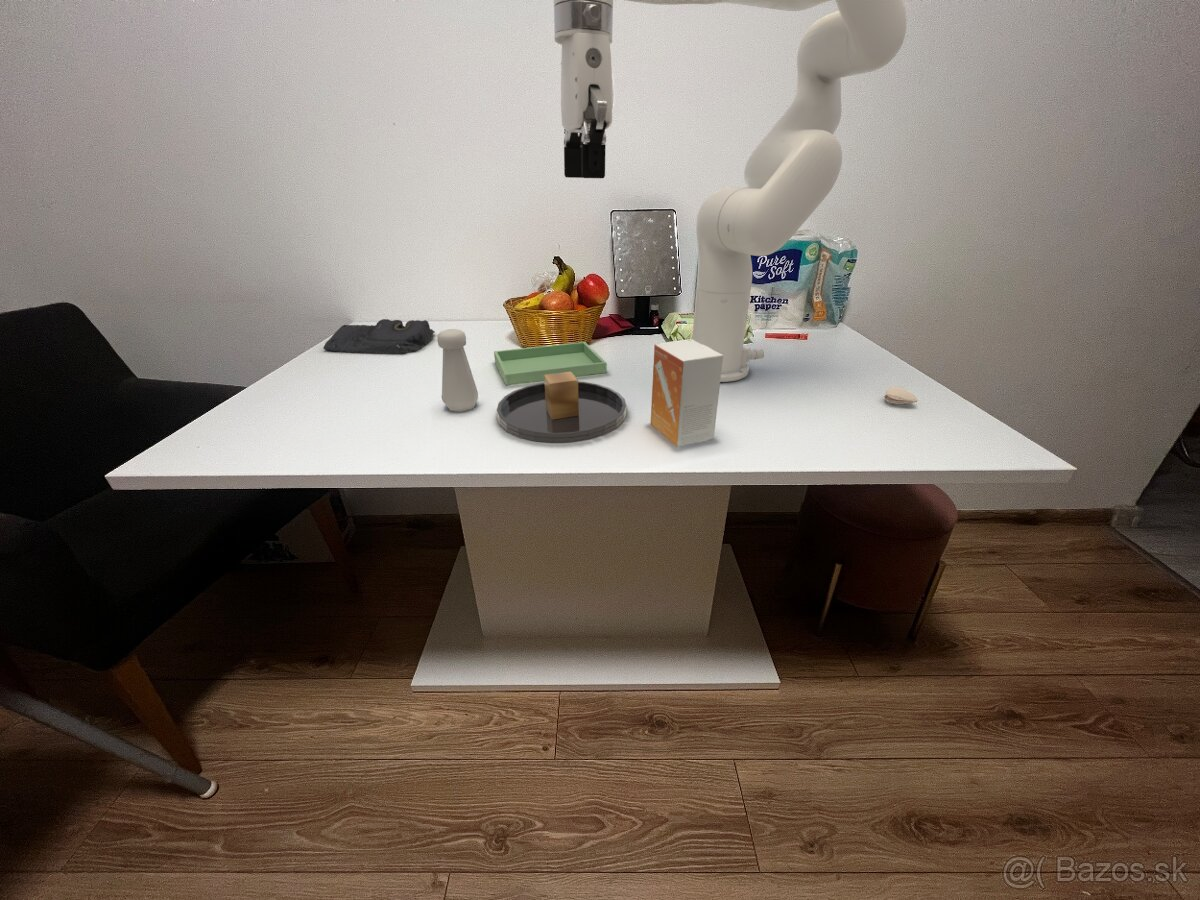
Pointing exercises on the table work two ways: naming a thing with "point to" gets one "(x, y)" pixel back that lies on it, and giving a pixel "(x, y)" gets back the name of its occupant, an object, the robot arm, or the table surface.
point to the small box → (685, 391)
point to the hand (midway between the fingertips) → (583, 177)
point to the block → (561, 395)
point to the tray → (548, 362)
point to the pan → (532, 421)
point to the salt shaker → (456, 372)
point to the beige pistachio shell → (899, 396)
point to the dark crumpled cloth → (381, 337)
